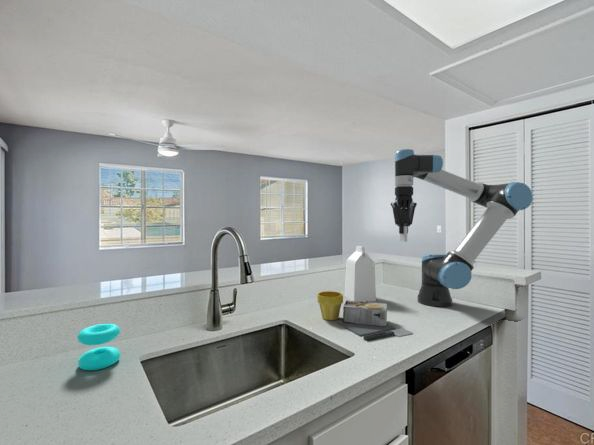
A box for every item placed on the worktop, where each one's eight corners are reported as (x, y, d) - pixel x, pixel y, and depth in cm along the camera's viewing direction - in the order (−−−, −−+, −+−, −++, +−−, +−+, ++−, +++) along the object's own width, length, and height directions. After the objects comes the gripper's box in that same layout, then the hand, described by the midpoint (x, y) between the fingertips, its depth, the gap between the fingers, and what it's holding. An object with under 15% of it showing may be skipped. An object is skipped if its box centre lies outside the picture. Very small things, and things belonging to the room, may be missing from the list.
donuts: (84, 338, 81) (72, 329, 87) (85, 376, 81) (72, 364, 88) (125, 327, 89) (111, 319, 95) (126, 362, 89) (111, 352, 95)
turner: (402, 328, 116) (402, 326, 116) (413, 333, 111) (413, 330, 111) (360, 337, 108) (360, 334, 108) (369, 342, 103) (369, 339, 103)
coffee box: (386, 319, 125) (346, 315, 130) (387, 303, 125) (346, 299, 129) (386, 327, 116) (342, 322, 121) (386, 309, 116) (342, 305, 121)
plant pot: (315, 314, 133) (315, 290, 132) (339, 313, 134) (339, 290, 133) (319, 322, 122) (319, 297, 122) (345, 321, 123) (345, 296, 123)
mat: (370, 317, 128) (370, 316, 128) (395, 329, 116) (395, 327, 116) (337, 323, 121) (337, 322, 121) (359, 336, 109) (359, 334, 109)
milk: (344, 296, 162) (344, 245, 161) (365, 294, 165) (365, 245, 164) (354, 302, 150) (354, 248, 150) (376, 300, 153) (376, 247, 153)
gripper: (398, 185, 129) (398, 242, 130) (422, 186, 135) (421, 241, 135) (386, 186, 136) (385, 241, 137) (408, 187, 142) (408, 240, 142)
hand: (403, 241), depth 136 cm, fingers closed
